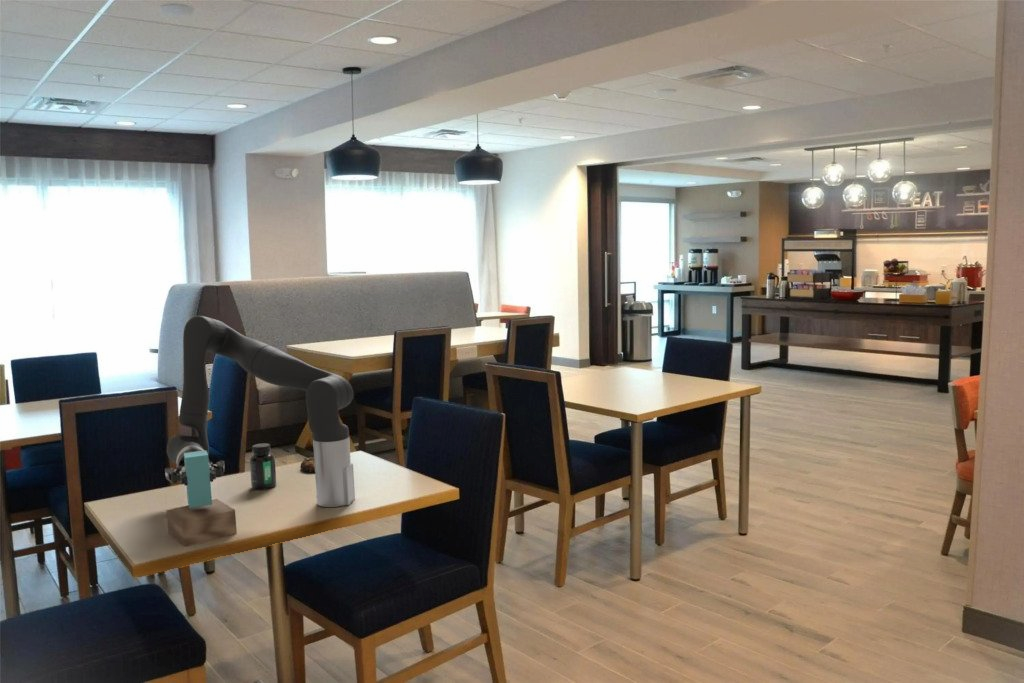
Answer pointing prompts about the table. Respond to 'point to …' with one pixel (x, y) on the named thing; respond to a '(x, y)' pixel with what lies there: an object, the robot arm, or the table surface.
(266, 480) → the supplement bottle
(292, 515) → the table surface
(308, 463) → the bread roll
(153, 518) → the table surface
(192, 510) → the walnut block
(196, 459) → the teal post
